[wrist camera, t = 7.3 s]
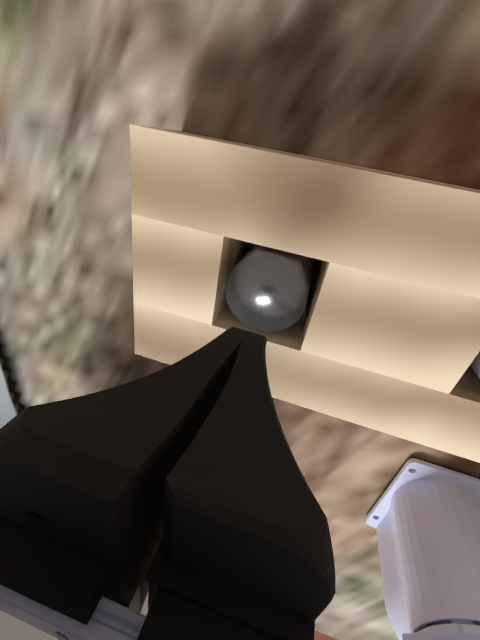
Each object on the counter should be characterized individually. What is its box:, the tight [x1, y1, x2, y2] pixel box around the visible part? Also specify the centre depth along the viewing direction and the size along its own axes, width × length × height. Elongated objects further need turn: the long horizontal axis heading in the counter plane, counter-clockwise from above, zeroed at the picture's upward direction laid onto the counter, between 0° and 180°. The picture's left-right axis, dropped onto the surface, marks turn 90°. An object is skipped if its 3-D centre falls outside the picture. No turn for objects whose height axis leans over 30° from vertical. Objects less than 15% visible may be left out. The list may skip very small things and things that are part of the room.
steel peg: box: [225, 244, 313, 332], centre depth 17 cm, size 4×4×5 cm
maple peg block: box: [130, 124, 480, 463], centre depth 16 cm, size 12×26×5 cm, turn 80°
